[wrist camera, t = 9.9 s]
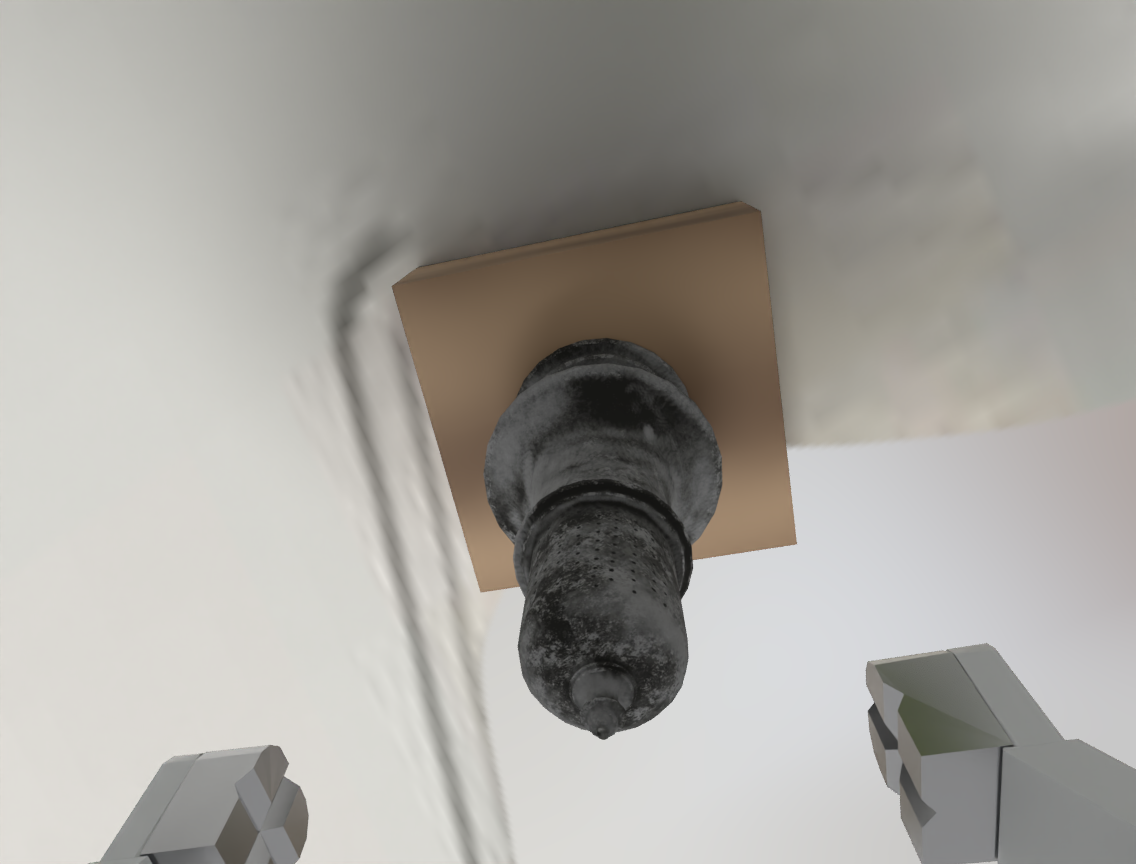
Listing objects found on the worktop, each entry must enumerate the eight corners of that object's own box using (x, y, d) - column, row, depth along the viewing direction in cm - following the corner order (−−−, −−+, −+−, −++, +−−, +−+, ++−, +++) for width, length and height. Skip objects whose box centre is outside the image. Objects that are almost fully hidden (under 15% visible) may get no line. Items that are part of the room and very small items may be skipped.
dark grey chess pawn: (560, 545, 23) (524, 926, 12) (463, 385, 21) (314, 660, 10) (737, 467, 22) (875, 810, 11) (649, 289, 20) (708, 484, 9)
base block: (416, 267, 23) (391, 286, 20) (740, 201, 22) (760, 211, 19) (493, 544, 27) (480, 592, 24) (775, 499, 26) (796, 544, 23)
